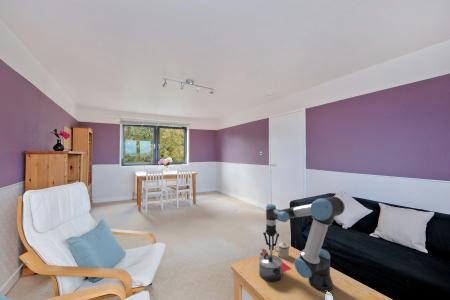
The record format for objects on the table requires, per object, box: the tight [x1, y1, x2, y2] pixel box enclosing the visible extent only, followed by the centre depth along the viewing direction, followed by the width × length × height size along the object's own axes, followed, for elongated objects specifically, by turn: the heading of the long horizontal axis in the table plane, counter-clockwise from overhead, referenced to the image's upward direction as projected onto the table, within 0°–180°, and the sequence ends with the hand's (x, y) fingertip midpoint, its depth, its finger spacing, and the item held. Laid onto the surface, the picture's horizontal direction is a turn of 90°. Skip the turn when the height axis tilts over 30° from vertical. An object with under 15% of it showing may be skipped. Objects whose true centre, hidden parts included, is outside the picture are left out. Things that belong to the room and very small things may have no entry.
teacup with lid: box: [274, 241, 290, 259], centre depth 174 cm, size 12×9×12 cm
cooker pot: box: [258, 252, 283, 283], centre depth 149 cm, size 26×16×9 cm, turn 12°
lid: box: [258, 248, 283, 269], centre depth 150 cm, size 23×17×4 cm
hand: (271, 253), depth 159 cm, fingers closed
